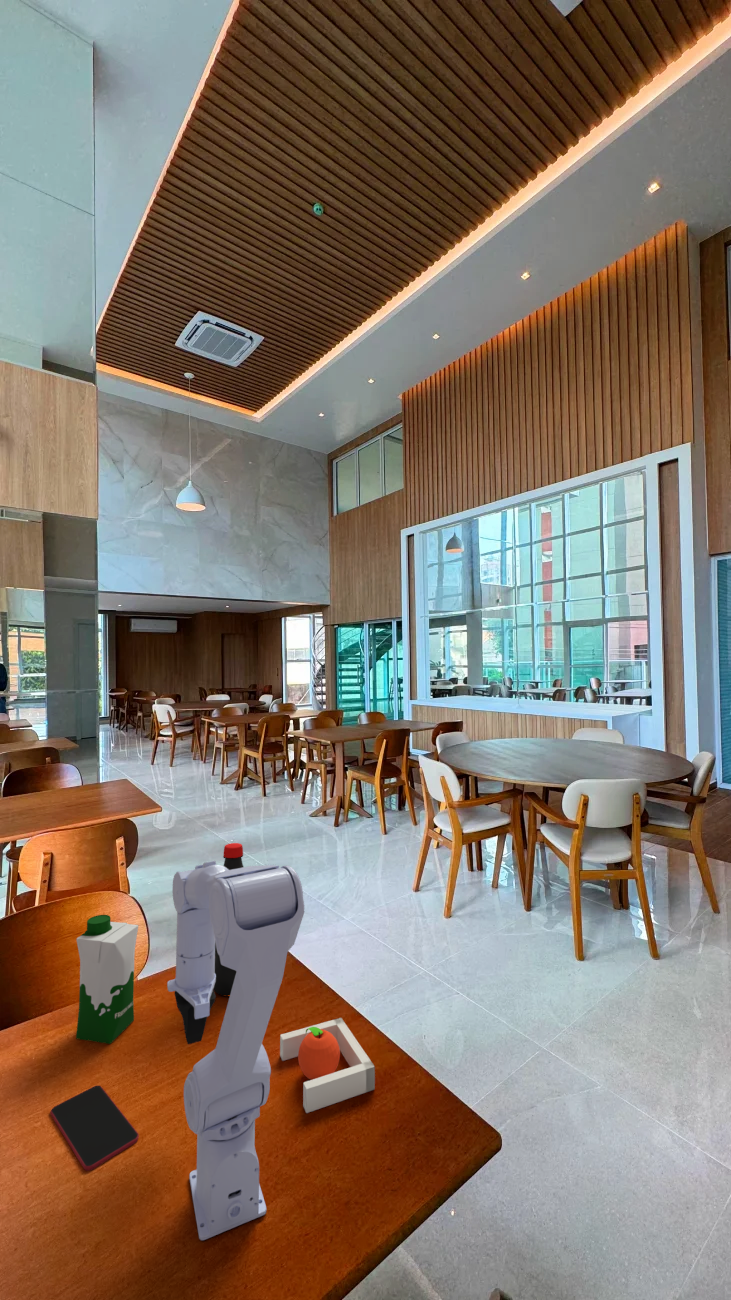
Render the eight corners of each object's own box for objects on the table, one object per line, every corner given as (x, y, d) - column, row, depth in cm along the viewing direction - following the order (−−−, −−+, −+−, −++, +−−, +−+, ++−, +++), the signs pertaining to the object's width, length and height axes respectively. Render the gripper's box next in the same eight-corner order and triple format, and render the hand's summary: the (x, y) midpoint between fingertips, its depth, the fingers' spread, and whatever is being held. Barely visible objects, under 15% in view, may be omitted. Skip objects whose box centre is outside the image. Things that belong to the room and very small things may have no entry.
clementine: (287, 1069, 92) (287, 1026, 92) (322, 1052, 96) (322, 1011, 96) (312, 1099, 86) (312, 1052, 86) (348, 1079, 90) (348, 1034, 90)
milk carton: (100, 1012, 107) (103, 908, 108) (141, 1018, 106) (144, 912, 107) (67, 1041, 99) (71, 928, 100) (112, 1048, 97) (115, 933, 98)
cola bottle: (246, 1000, 112) (248, 850, 113) (205, 999, 112) (207, 850, 113) (255, 977, 120) (257, 838, 122) (217, 977, 120) (219, 838, 122)
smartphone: (99, 1083, 88) (141, 1136, 78) (99, 1089, 88) (140, 1142, 78) (48, 1109, 83) (86, 1169, 73) (48, 1115, 83) (86, 1176, 72)
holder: (374, 1089, 88) (374, 1066, 88) (306, 1113, 83) (306, 1089, 83) (341, 1037, 100) (341, 1017, 100) (280, 1055, 95) (280, 1034, 96)
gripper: (163, 933, 89) (161, 1019, 88) (173, 978, 76) (171, 1079, 75) (208, 925, 92) (206, 1008, 91) (225, 967, 79) (223, 1064, 78)
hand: (193, 1040), depth 84 cm, fingers closed
